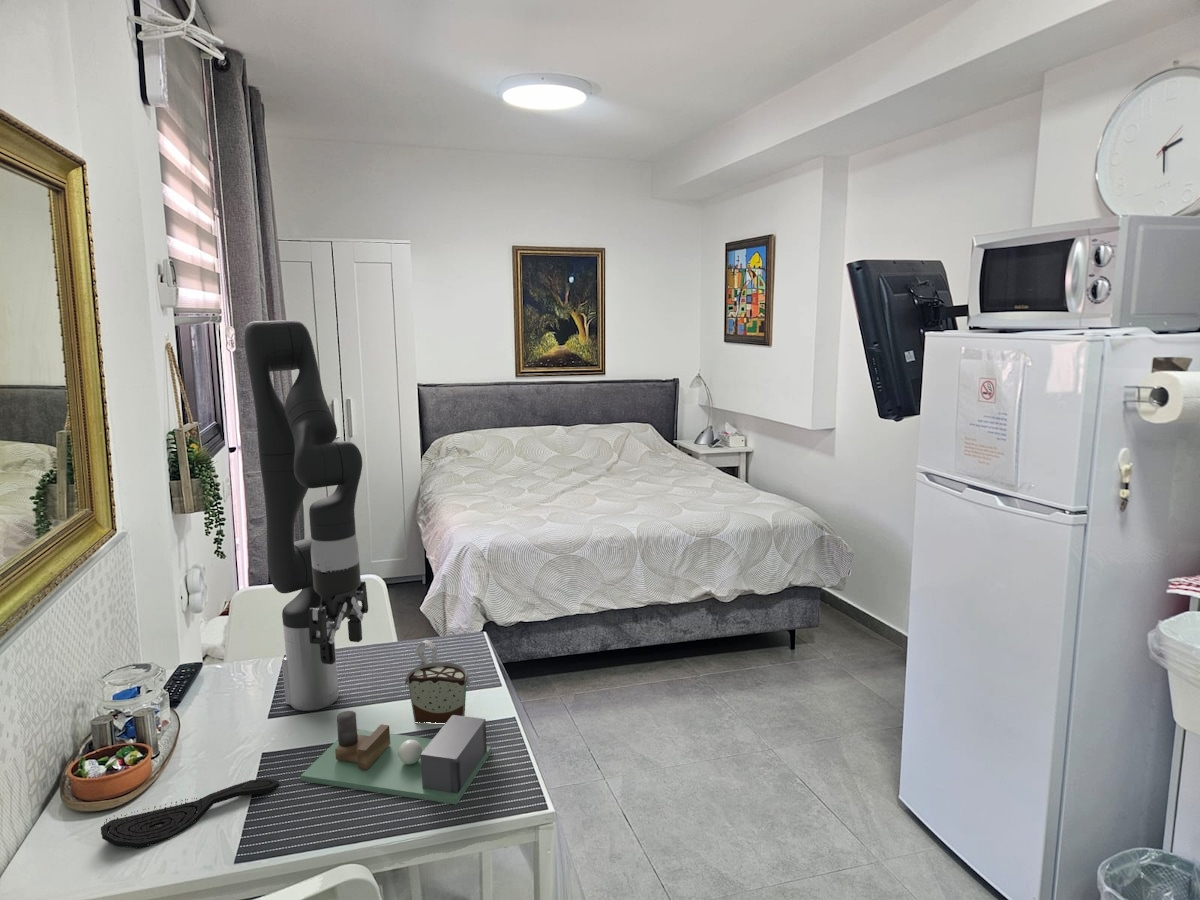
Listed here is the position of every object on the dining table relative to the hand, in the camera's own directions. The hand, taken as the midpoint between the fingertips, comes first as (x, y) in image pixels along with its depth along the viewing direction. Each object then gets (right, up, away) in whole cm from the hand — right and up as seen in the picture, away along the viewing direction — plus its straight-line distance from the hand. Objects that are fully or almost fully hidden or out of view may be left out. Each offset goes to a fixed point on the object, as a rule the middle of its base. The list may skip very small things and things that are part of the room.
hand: (342, 651), depth 133 cm
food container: (+14, -17, +18) cm, 28 cm away
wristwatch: (+6, -13, +40) cm, 42 cm away
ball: (+11, -17, 0) cm, 21 cm away
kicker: (+2, -19, +3) cm, 19 cm away
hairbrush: (-20, -23, -10) cm, 32 cm away
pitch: (+9, -20, +2) cm, 22 cm away
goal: (+19, -20, -1) cm, 28 cm away
